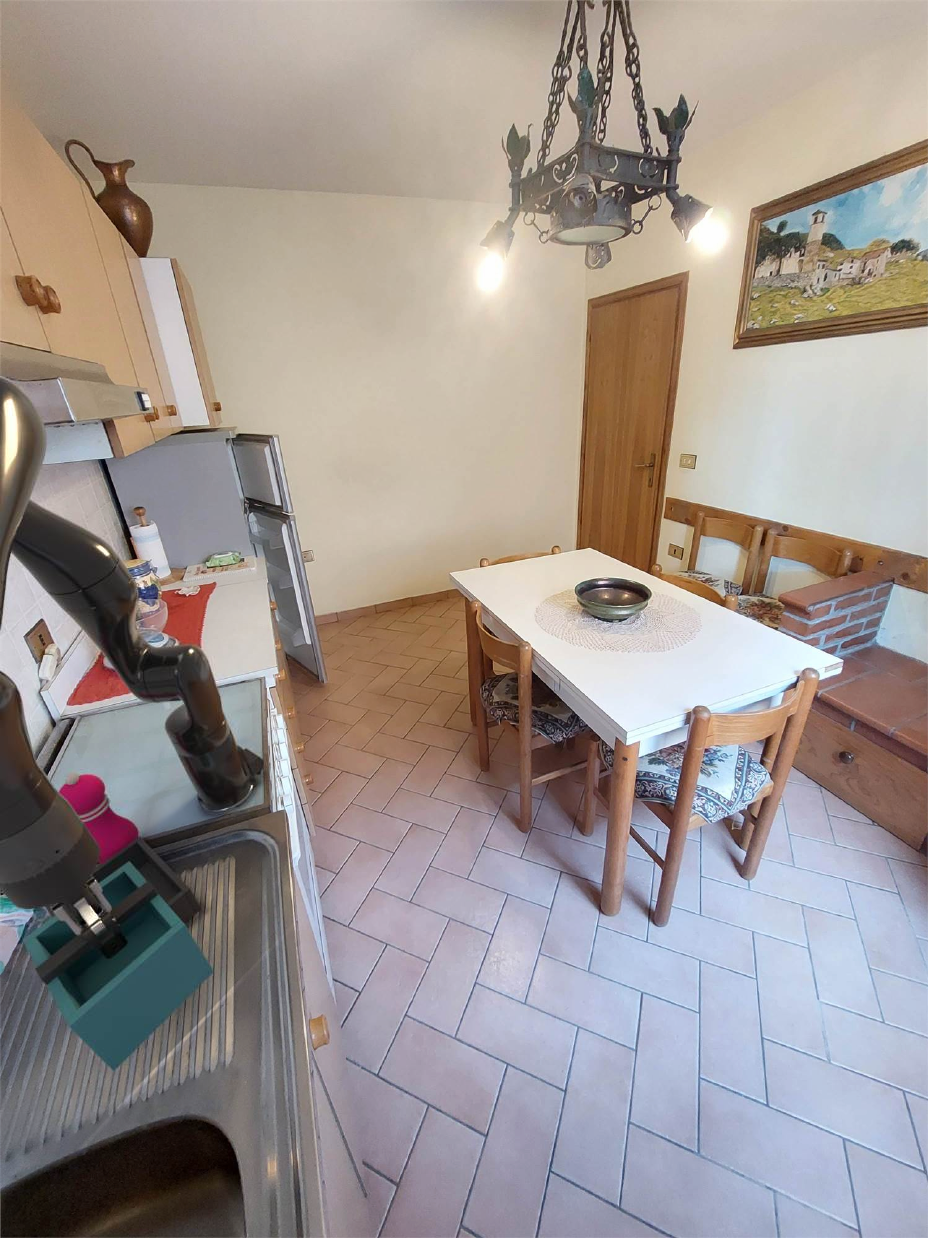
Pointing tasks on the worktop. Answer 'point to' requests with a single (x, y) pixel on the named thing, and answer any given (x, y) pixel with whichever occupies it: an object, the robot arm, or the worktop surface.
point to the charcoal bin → (151, 877)
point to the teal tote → (120, 969)
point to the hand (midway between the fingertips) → (112, 943)
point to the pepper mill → (98, 814)
